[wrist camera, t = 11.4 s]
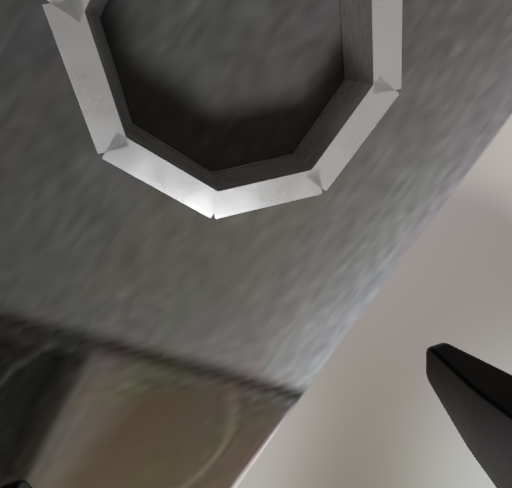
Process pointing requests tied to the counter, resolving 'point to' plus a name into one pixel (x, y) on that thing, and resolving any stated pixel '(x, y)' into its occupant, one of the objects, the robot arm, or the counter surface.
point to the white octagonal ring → (248, 175)
